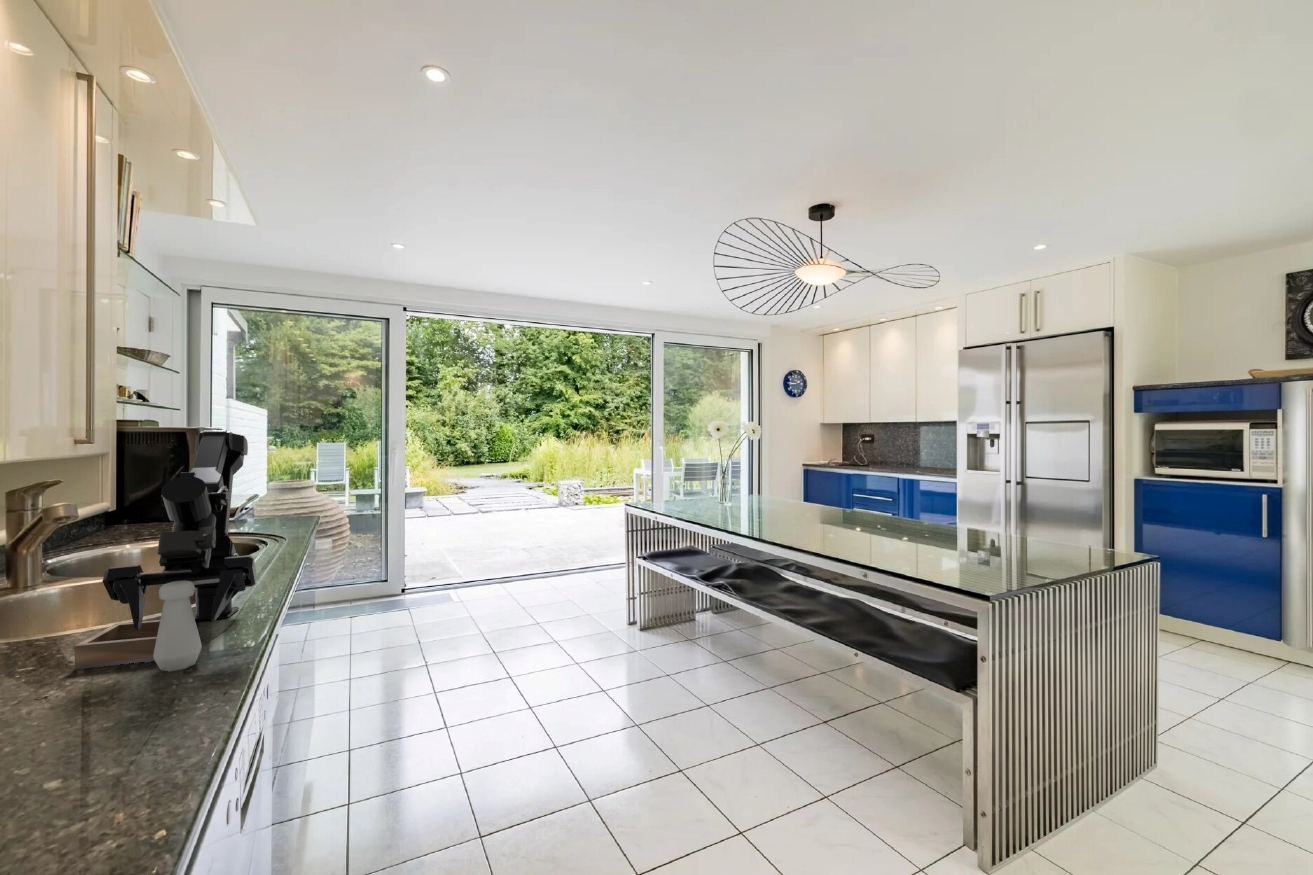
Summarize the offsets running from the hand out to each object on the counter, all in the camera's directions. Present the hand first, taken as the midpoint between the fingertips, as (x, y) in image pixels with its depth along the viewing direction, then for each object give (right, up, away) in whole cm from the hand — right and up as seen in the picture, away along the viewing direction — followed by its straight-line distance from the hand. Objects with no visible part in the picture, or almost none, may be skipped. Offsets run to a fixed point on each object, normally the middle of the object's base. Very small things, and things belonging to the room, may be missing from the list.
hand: (175, 624), depth 89 cm
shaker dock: (-12, -7, +7) cm, 15 cm away
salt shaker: (-1, -7, +1) cm, 7 cm away
